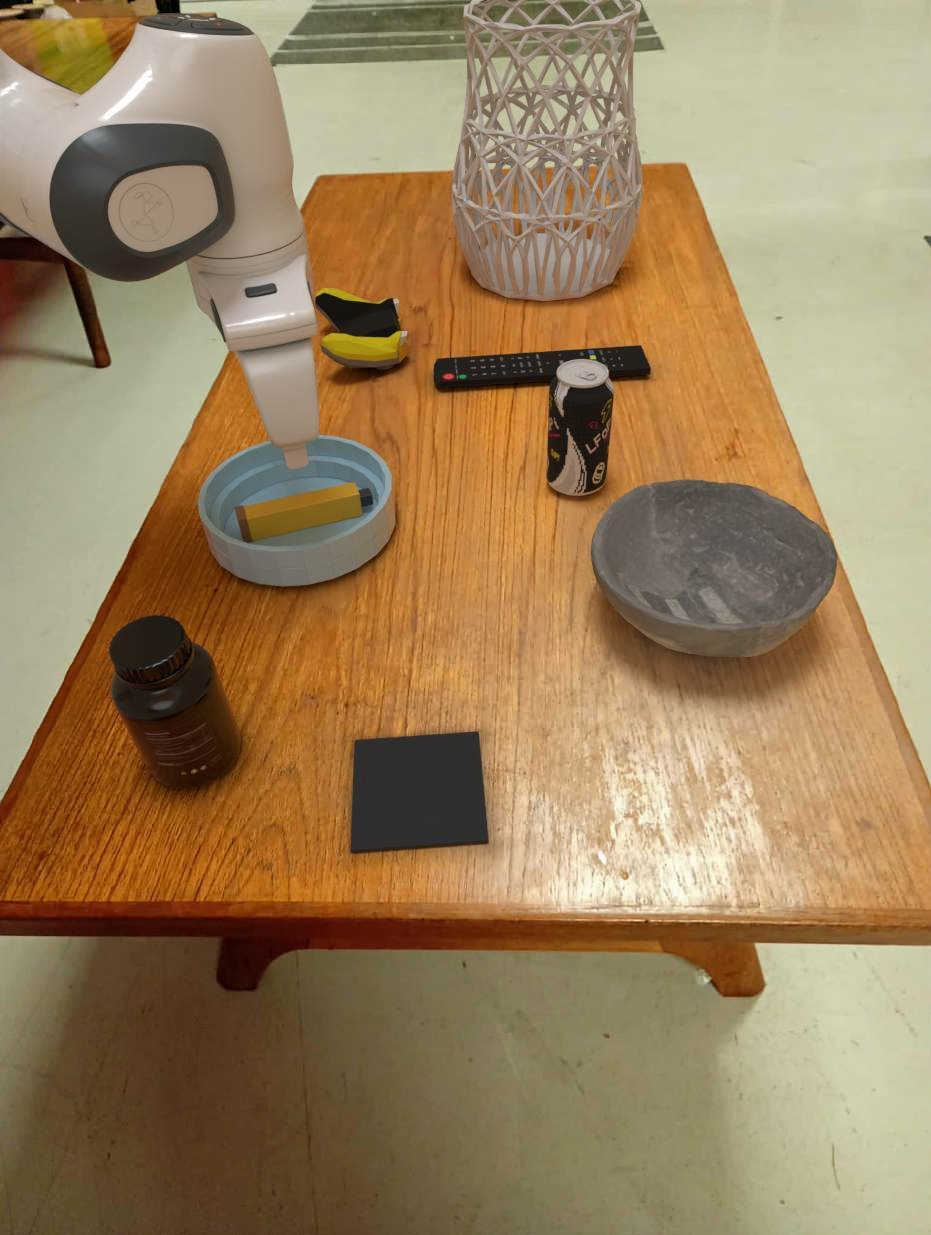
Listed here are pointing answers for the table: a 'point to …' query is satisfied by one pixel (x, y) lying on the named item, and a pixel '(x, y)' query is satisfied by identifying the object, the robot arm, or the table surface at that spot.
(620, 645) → the table surface
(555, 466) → the beverage can
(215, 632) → the table surface
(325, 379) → the table surface
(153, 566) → the table surface
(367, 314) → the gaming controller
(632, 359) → the remote control
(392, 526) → the blue bowl
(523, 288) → the vase
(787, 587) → the bowl
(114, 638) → the supplement bottle
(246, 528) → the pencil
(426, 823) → the mat
